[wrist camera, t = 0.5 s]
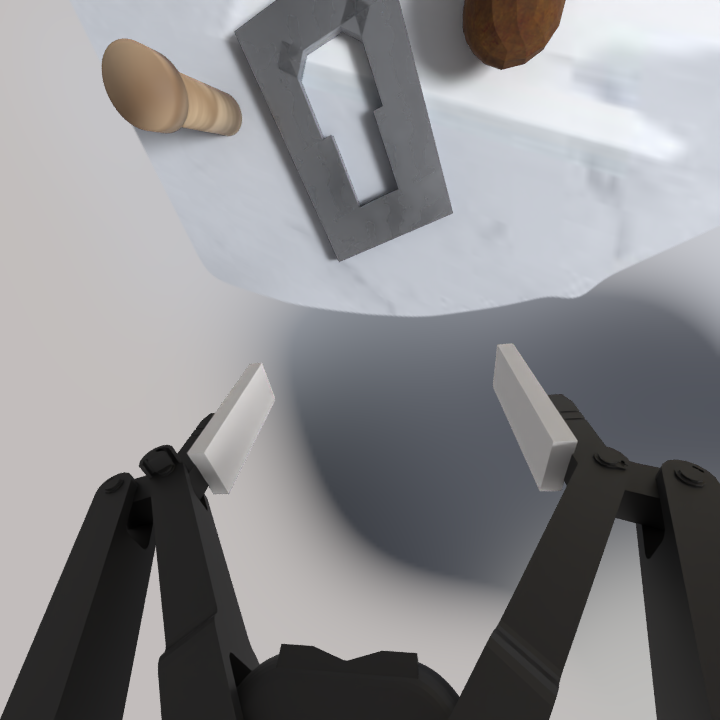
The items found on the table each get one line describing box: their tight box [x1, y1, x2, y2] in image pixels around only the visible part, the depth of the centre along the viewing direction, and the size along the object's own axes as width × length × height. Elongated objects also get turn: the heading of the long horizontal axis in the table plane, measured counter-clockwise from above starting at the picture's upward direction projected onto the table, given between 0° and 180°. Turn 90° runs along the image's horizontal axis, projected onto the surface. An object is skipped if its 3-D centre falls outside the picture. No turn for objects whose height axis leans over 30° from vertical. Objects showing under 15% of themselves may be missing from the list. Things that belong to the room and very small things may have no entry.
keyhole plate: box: [235, 0, 453, 262], centre depth 31 cm, size 22×14×2 cm, turn 23°
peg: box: [102, 39, 242, 136], centre depth 27 cm, size 5×5×13 cm
